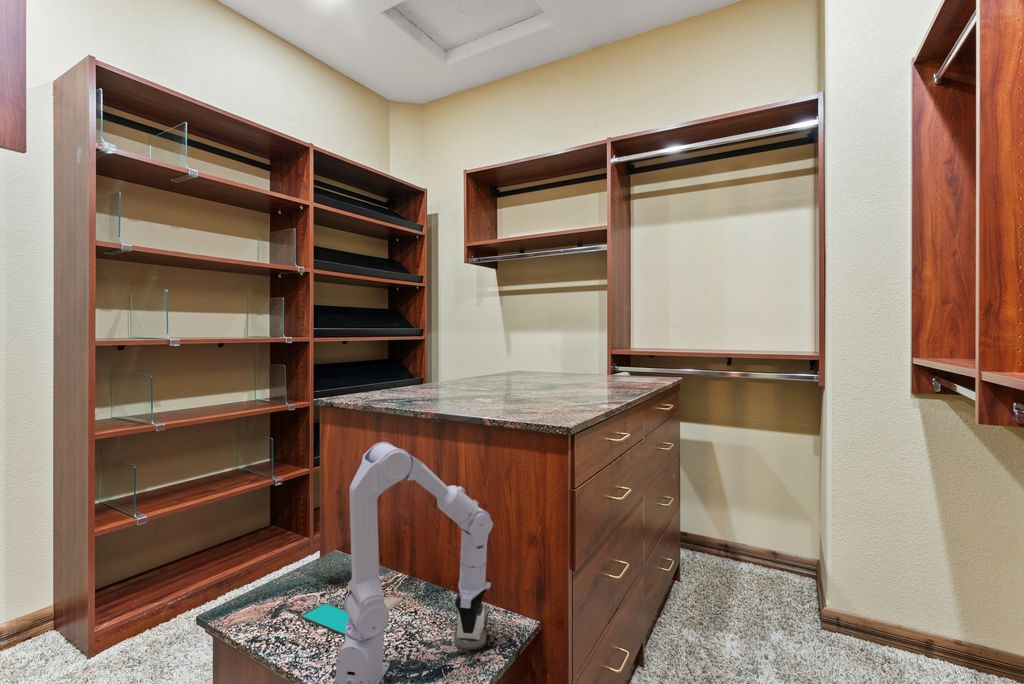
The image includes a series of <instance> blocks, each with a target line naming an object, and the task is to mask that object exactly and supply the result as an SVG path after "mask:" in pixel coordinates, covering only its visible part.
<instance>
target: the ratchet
mask: <svg viewBox="0 0 1024 684" xmlns="http://www.w3.org/2000/svg"><path fill="white" fill-rule="evenodd" d="M488 609H489V607H488V606H487V605H486V606H485V605H484V623H485V622H486V618H487V616H488V611H489V610H488ZM453 637H454V638H453V644H454V646H455V647H456V648H457V649H459V650H462V651H465V650H475V651H478V650H481V649H482V648H484V647H485V645H486V643H487V632H486V630H485V629H484V628H483V631H482V634H481V637H480V640H477V639H467V638H457V629H456V630H455V632H454V636H453ZM483 646H484V647H483ZM480 648H481V649H480ZM477 649H478V650H477Z"/></svg>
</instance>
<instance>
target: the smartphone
mask: <svg viewBox="0 0 1024 684" xmlns="http://www.w3.org/2000/svg"><path fill="white" fill-rule="evenodd" d="M324 603H325V604H323V603H322V604H320V605H318V606H316V607H313V609H310V610H308V611H307V612H304V613H303V614H300V617H299V618H300V619H301V618H302V619H301V620H303V619H305V620H304V621H306V620H307V621H306V622H308V621H310V622H309V623H311V622H312V623H311V624H313V623H314V625H315V624H316V625H315V626H318V627H321V628H322V629H323V630H327V631H329V632H332V633H334V634H336V635H339V636H342V637H344V638H345V632H346V625H347V622H348V620H349V615H348V614H347V613H346V611H345V609H343V608H340V607H337V606H334V605H332V604H329V603H327V602H324Z"/></svg>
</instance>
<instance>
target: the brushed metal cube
mask: <svg viewBox="0 0 1024 684" xmlns="http://www.w3.org/2000/svg"><path fill="white" fill-rule="evenodd" d="M484 606H485V604H484V603H482V604H481V606H480V608H479V610H478V612H477V616H476V622H475V627H474V631H473V633H472V634H470V633H463V629H462V623H461V618H460V614H459V611H458V612H457V623H456V624H457V625H456V630H457V638H467V639H477V640H480V637H481V634H482V631H483V629H484V628H485V622H484Z"/></svg>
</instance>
